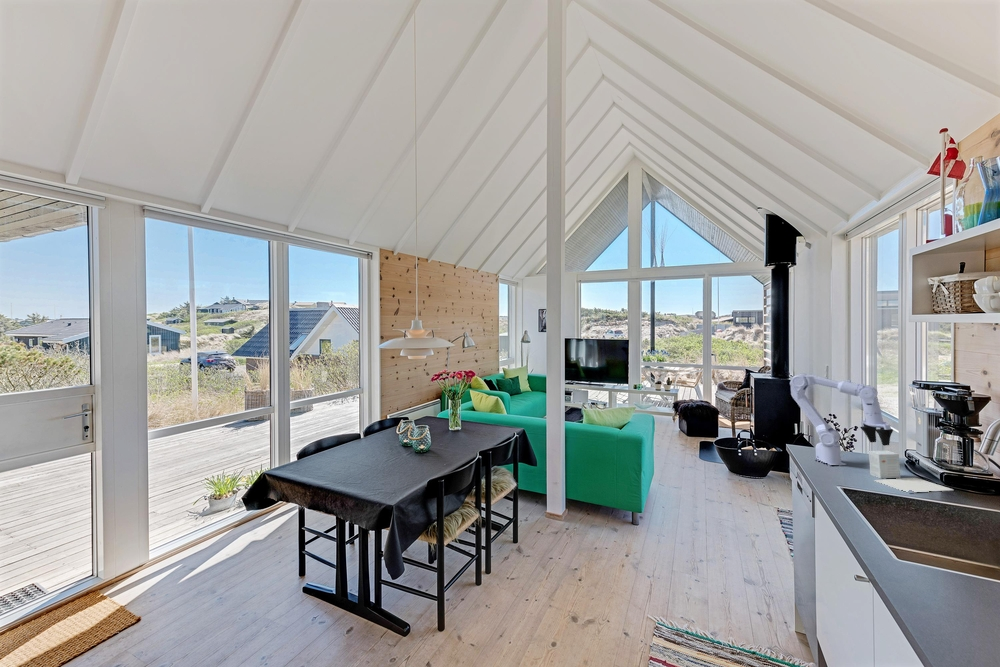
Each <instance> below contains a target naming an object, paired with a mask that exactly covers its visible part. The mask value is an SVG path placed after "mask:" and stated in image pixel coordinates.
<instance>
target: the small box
mask: <svg viewBox="0 0 1000 667" xmlns="http://www.w3.org/2000/svg"><path fill="white" fill-rule="evenodd" d="M868 458H869V473H870V475H871V476H873V477H875V476H876V478H877V477H878V478H877V479H879V480H885V479H884V478H896V479H899V478H901V469H900V468H901V466H900V454H899V453H897V452H893V451H891V450H887V449H886V450H869V451H868Z"/></svg>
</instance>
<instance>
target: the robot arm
mask: <svg viewBox="0 0 1000 667" xmlns="http://www.w3.org/2000/svg"><path fill="white" fill-rule="evenodd" d="M813 385H814V386H815V385H819V386H824V387H829V388H833V389H837V390H838V391H839V393H842V394H846V395H850V396H854V397H860V399H861V402H862V404H861V405H862V409H863V413H864V417H865V420H860V423H861V426H860V429H861V431H863V433H864V434H865V435H866V437H867V439H868V441H869V443H876V442H877V435H878V436H879V439H880V442H881V444H882V446H890V442H891V436H892V434H893V432H894V429H893V428H891V425H890V424H888V423H887V422H886V421H884V420H883V415H882V410H881V405H880V402H879V398H878V389H877V388H876V387H875V386H872V385H870V384H869V385H865V384H864V383H861V384H860V383H855V382H852V381H851V380H848V379H847V380H842V381H837V380H832V379H828V378H825V377H823V376H818V375H815V374H814V375H813V374H807V373H800V374H796V375H794V376H792V377H791V378H790V381H789V386H790V395H791V397H792V399H793V400H794V401H795V402H796V403H797V405H798V407H799V408H800V409H801V410H802V412H803V413H804V415H805V416H806V417H807V419H808V420H809V421H810V423H811V424H812V425H813V426H814V428H815V431H816V434H817V435H818V438H819V441H820V442H818V443H816V445H815V448H814V449H815V459H816V458H817V459H819V460H821V461H823V462H825V463H828V464H830V465H839V466H846V465H847V463H844V462H842V456H841V453H842V452H841V444H840V443H839V441H840V440H841V434H840V432H839V431H838V430H836V429H834V428H833V427H832V425H831V424H829V423H827V421H825V419H824V418H823V416H822V415H821V413H820V412H819V411H818V410H817V408H816V407H815V406H814V404H813V403H812V402H811V401H810V399H809V398H808V396H807V395H806V392H807V388H808V387H809V386H813ZM876 434H877V435H876Z"/></svg>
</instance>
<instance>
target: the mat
mask: <svg viewBox="0 0 1000 667" xmlns="http://www.w3.org/2000/svg"><path fill="white" fill-rule="evenodd" d="M873 481H874V482H875V481H876V482H875V483H878V482H879V483H878V484H881V483H882V484H881V485H884V484H885V485H884V486H886V485H888V486H887V487H889V486H890V487H889V488H892V487H893V488H892V489H895V488H896V490H898V489H899V490H898V491H901V490H903V491H906V492H908V491H909V490H912V491H914V492H928V493H930V492H929V491H942V492H953V491H954V489H953V488H950V487H947V486H943V485H940V484H938V483H937V484H936V483H935V482H930V481H927V480H925V479H922V478H917V477H903V478H901V477H900V478H896V479H874V480H873ZM903 491H902V492H903ZM906 492H905V493H906Z"/></svg>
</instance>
